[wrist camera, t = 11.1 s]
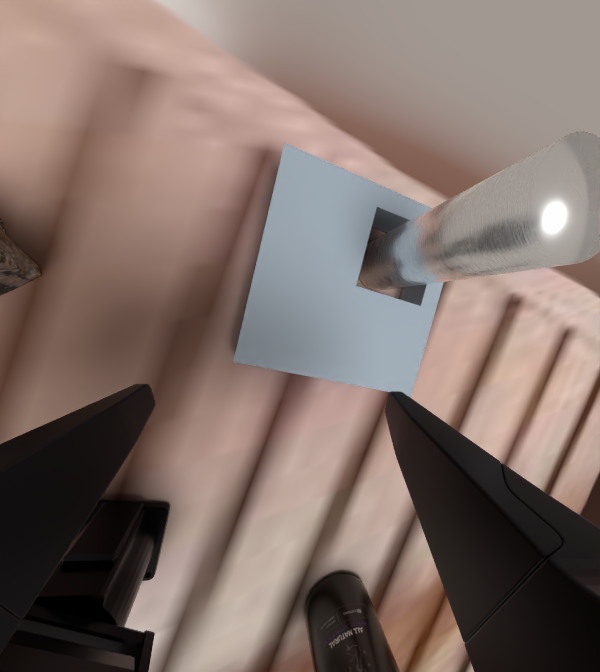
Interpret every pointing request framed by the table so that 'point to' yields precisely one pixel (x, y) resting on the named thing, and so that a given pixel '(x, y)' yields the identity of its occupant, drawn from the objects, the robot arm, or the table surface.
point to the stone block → (14, 265)
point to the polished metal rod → (500, 223)
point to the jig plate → (332, 283)
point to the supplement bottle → (346, 628)
